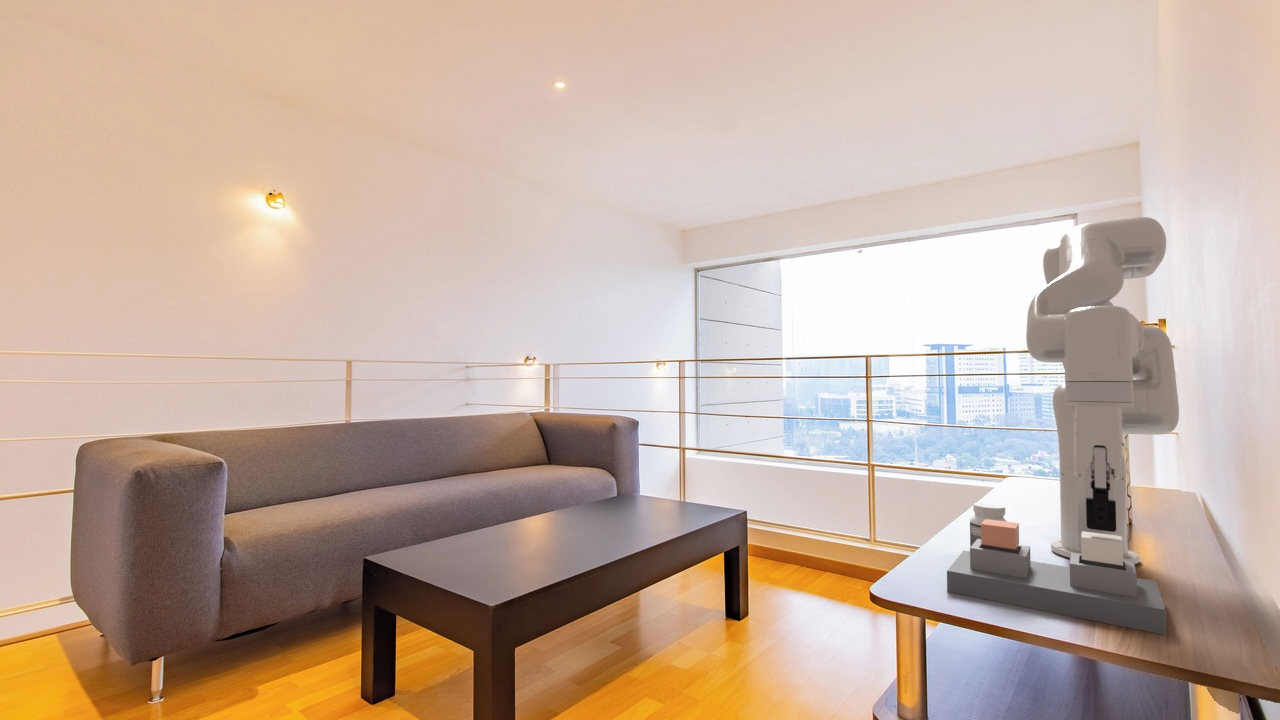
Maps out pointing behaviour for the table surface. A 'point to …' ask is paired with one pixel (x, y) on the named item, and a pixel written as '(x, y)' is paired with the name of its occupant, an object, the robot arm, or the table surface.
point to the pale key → (1102, 548)
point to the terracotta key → (1000, 533)
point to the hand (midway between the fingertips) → (1101, 529)
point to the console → (1060, 586)
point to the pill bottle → (981, 514)
